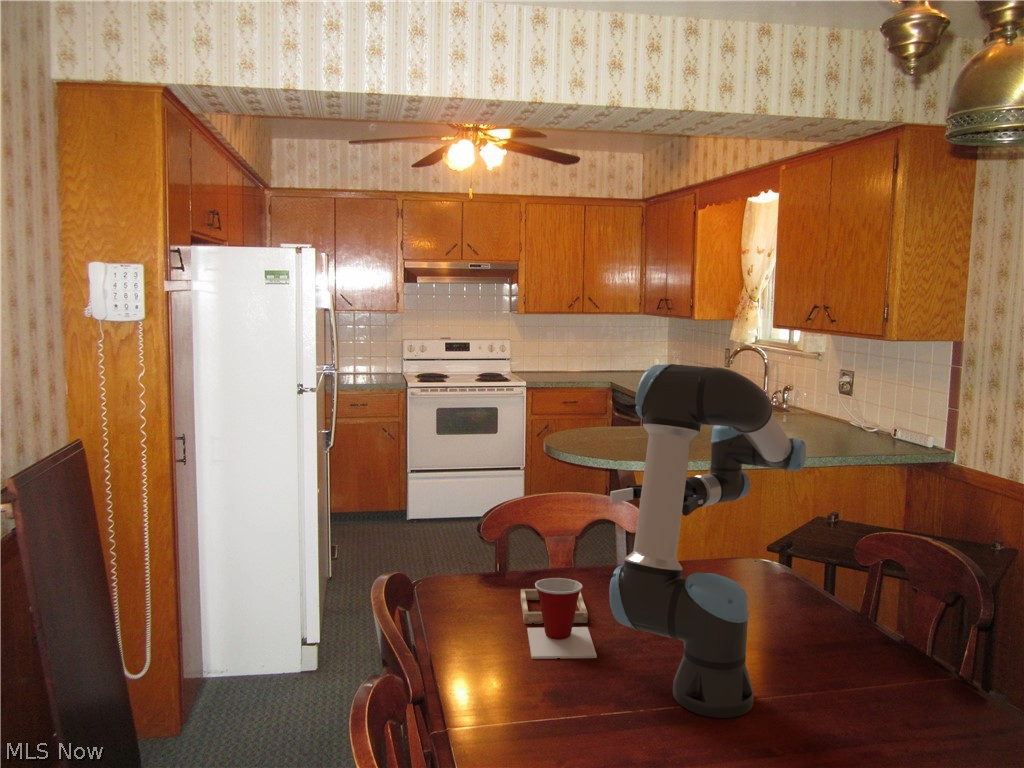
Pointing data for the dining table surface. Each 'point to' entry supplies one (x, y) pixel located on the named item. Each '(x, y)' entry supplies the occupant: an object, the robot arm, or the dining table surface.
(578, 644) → the white tile
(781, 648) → the dining table surface
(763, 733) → the dining table surface
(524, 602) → the birch collar
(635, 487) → the robot arm
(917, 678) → the dining table surface
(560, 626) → the plastic cup
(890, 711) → the dining table surface
